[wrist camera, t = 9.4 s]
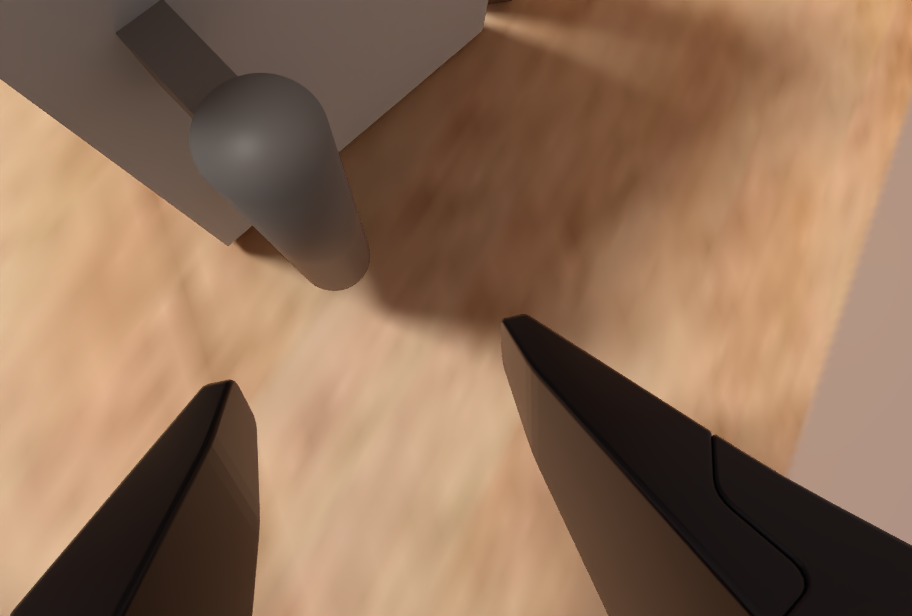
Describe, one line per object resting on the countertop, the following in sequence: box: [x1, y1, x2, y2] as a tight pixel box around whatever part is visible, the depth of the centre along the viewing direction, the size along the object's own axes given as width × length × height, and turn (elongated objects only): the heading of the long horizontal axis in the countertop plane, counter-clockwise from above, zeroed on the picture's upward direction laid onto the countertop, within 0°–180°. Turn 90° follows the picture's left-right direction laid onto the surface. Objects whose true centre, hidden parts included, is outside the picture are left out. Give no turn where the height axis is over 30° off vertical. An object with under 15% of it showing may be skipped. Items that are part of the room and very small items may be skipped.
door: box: [0, 0, 488, 291], centre depth 12 cm, size 6×12×14 cm, turn 134°
